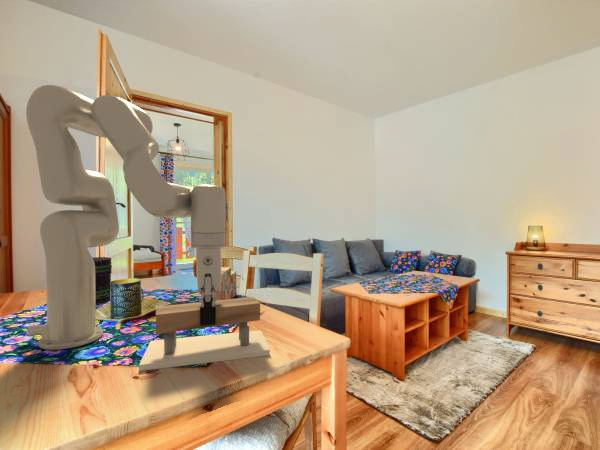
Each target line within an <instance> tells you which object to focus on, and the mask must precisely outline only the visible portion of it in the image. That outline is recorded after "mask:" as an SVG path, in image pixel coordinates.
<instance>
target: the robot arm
mask: <svg viewBox="0 0 600 450" xmlns="http://www.w3.org/2000/svg"><path fill="white" fill-rule="evenodd" d="M25 110H26V111H25V115H26V122H27V126H28V130H29V131H30V132H29V133H30V135H31V138H32V141H33V144H34V147H35V152H36V160H37V166H38V167H37V169H38V174H39V179H40V186H41V190H42V194H43V196H44V198H45V199H46V200H47V201H48V202H50V203H52V204H54V205H60V206H74V207H81V208H82V210H80V209H79V210H77V209H76V210H75V209H74V210H73V209H67V210H58V211H53V212H51V213H49V214H48V215H46V216H45V217H44V218H43V220H42V221H41V224H40V226H39V233H40V239H41V242H42V247H43V252H44V258H45V263H46V264H45V273H46V276H45V277H46V322H45V323H44V324H32V325H31V324H30V325H29V326H28V327H27V330H26V331H27V336H28V337H33V336H39V335H40V339H39V340H38V347H39V348H40V349H42V350H51V351H55V350H65V349H71V348H76V347H81V346H84V345H87V344H90V343H93V342H95V341H97V340H98V339H100V338H101V337H102V336H103V335H104V329H103V328H102V327H101V326H96V325H97V322H96V320H97V319H96V317H97V316H96V310H97V309H96V299H95V264H94V260H93V258H94V257H93V256H92V254H91V253H90V250H89V249H90V248H97V247H103V246H108V245H110V244H112V243H113V242H114V241H115V240H116V239H117V237H118V236H119V231H120V226H119V225H120V224H119V216H118V209H117V203H116V199H115V198H116V197H115V192H114V188H113V185H112V183H111V181H110V180H109V179H108V177H106V176H105V175H103V174H102V173H100V172H98V171H94V170H89V169H85V167H84V165H83V161H82V155H81V150H80V147H79V145H78V143H77V141H76V140H75V138H74V136H73V135H72V133H71V132H70V131H69V128H70V129H72V130H75V131H76V130H77V131H79V132H83V133H85V134H88V135H91V136H95V137H99V138H104V139H106V140H108V142H109V143H110V145H112V147H113V148H114V150H115V152H116V153H117V154H118V155H119V156H120V158H121V159H122V161H123V164H122V172H123V179H124V181H125V184H126V186H127V188H128V190H129V191H130V193H131V194H132V195H133V196H134V198H135V199H136V201H137V202H138V204H140V206H141V207H142V208H143V210H145V211H146V212H147V213H148V214H150V215H152V216H154V217H156V218H164V219H165V218H167V219H168V218H174V219H177V218H178V219H181V218H183V219H185V218H190V248H192V249H196V253H195V255H196V257H195V258H196V260H195V261H196V285H197V292H198V294H199V295H200V296H201V297H200V302H201V307H200V325H201V326H205V325H215V323H216V306H215V291H218V293H220V292H221V267H222V248H225V247H226V236H227V235H226V221H227V219H226V217H227V215H226V213H227V212H226V211H227V210H226V209H227V207H226V206H227V204H226V203H227V197H226V195H227V194H226V190H225V188H224V187H223V186H219V185H213V184H212V185H211V184H199V185H194V186H192V187H191V186H186V185H180V184H177V183H171V182H168V181H167V180H166V179H165V178H164V177H163V175H162V174H161V173H160V171H159V170H158V168H157V167H156V165H155V164H154V162H153V161H154V159H155V158H156V156H157V155H158V154H159V151H160V146H159V144H158V142H157V140H156V139H155V138H154V136H153V135H152V132H153V128H154V127H153V126H154V125H153V121H152V119H151V117H150V116H149V114H148V113H147V112H146V111H145V110H143V109H142V108H140V107H138V106H137V105H135V104H132V103H131V102H129V101H127V100H125V99H123V98H121V97H119V96H116V95H111V94H105V95H100V96H98V97H96V98H95V99H94V100H93V99H92V98H89V97H87V96H84V95H82V94H81V93H78V92H76V91H74V90H72V89H69V88H66V87H63V86H59V85H55V84H45V85H41V86H39V87H38V88H36V89H35V90H34V91H33V92H32V93H31V95H30V96H29V98H28V100H27V105H26V109H25Z"/></svg>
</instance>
